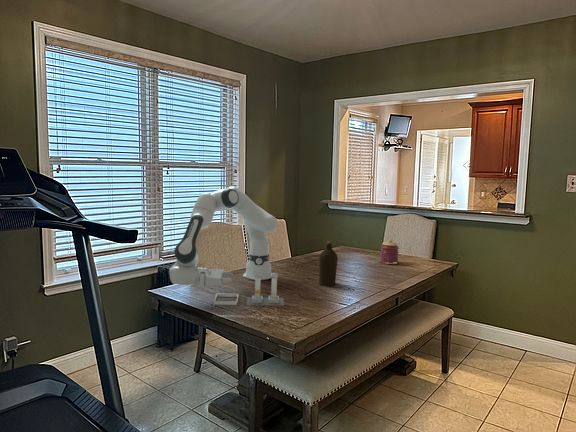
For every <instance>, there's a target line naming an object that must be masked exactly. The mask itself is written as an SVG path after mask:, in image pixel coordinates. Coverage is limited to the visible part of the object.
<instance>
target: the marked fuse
mask: <svg viewBox="0 0 576 432" xmlns="http://www.w3.org/2000/svg"><path fill="white" fill-rule="evenodd" d="M261 281H262V280H261V273H260V272H256V273H255V280H254V295H255V297H254V298H260V296H261Z"/></svg>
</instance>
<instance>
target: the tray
mask: <svg viewBox="0 0 576 432" xmlns="http://www.w3.org/2000/svg"><path fill="white" fill-rule="evenodd" d="M239 295H240V294H239V293H225V292H224V293H223V292H222V293H220V292H219V293H217V292H216V293H215V297H214V299H213V306H216V305H223V306H224V305H226V306H230V305H231V306H236V305H238V301H239ZM218 297H221V298H222V297H223V298H224V297H225V298H236V301H233V300H231V301H230V300H229V301H227V300H224V301H223V300H217V299H218Z"/></svg>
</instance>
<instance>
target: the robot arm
mask: <svg viewBox="0 0 576 432" xmlns="http://www.w3.org/2000/svg"><path fill="white" fill-rule="evenodd" d="M230 208H231V209H232V210H233V211H234V212H235V213H236V214H237V215H238V216H240V218H242V221H243V225H244V226H245V228H246V230H247V233H248V236H249V237H248V238H249V254H248V262H246V265H245V266H246V267H245V268H246V269H245V272H244V273H243V275H242V278H246V279H249V280H254V281H255V273H256V272H260V273H261V281H264V280H269V279H272V278H271V273H272V263H271V262H270V261H269V260H270V254H269V247H270V245H269V244H270V241H269V239H268V238H267V237H266V233H267V234H268V233H273V232H275V231H276V230H277V228H278V223H279V222H278V220H277V218H276V217H275V216H274V215H272V214H270V213H269V212H268V211H266V210H264V209H263V208H261V207H260V206H259V205H257V203H255V202H254V201H253V200H252V199H251V198H250V197H249V196H248V195H247V194H245V193H244V191H242V190H241V189H239V188H238V187H236V186H233V185H231V186H228V187H227V188H223V189H219V190H218V189H217V190H215V191H213V192H204V193H201V194H200V195H199V196H198V198H197V199H196V202H195V203H194V205H193V209H192V211H191V214H190V218H189V221H188V225H187V227H186V230H185V231H184V234H183V237H182V239H181V240H180V241H179V242H178V243H177V244H176V246H175V248H174V252H173V253H174V256H175V259H176V261H175V262H174V263H173V264H172V266H171V267H170V268H169V269H168V270H169V271H168V275H169V276H168V277H169V280H170V282H171V283H172V284H174V285H179V286H190V285H193V286H196V287H197V286H198V287H199V288H206V287H207V288H208V287H209V288H210V287H211V288H212V287H219V286H220V287H221V285H222V284H223V283H224V284H225V283H231V282H232V277H233V276H234V275H233V272H227V271H225V269H224V268H211V269H208V267H205V266H198V263H199V255H198V252H197V247H196V244H197V243H196V242H197V240H198V238H199V235H200V232H201V230H205V229H207V228H209V227H210V225H211V224H212V222H213V219H214V215H215V213H216V212H222V211H224V210H228V209H230Z"/></svg>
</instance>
